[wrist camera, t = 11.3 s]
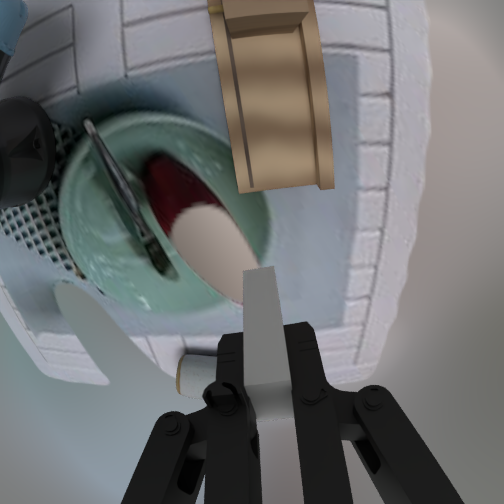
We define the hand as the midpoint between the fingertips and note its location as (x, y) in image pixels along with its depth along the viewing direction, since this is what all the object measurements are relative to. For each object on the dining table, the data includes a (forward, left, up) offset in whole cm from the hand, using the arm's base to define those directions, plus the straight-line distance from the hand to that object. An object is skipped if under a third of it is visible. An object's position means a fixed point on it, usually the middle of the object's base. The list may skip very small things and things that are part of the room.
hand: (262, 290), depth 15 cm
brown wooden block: (-12, +14, -19) cm, 27 cm away
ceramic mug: (+16, -29, -21) cm, 39 cm away
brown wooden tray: (-6, +9, -21) cm, 24 cm away
